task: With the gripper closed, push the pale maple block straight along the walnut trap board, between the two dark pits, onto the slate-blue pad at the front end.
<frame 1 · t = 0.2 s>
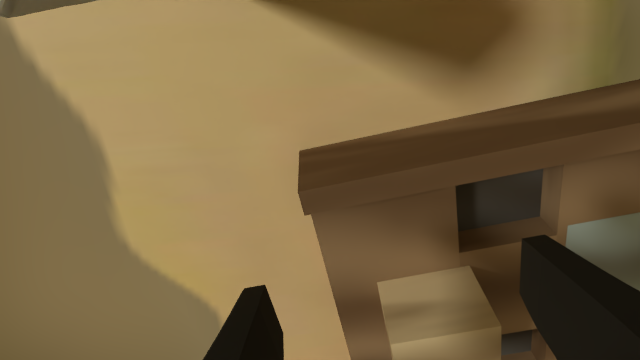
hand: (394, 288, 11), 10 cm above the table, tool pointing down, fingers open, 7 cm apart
maple block: (426, 306, 23), point 2 cm above the table, touching trap board
trap board: (500, 266, 24), on the table
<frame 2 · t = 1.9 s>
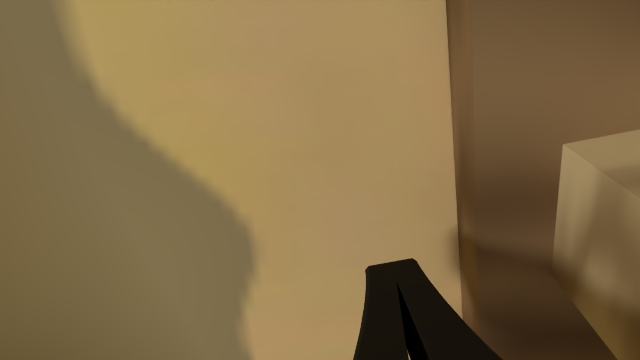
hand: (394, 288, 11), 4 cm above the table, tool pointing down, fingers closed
maple block: (638, 200, 12), point 2 cm above the table, touching trap board
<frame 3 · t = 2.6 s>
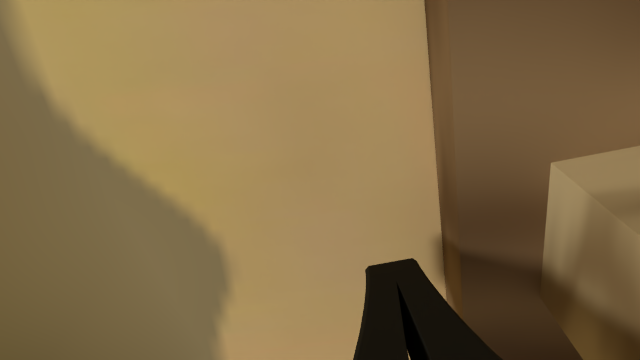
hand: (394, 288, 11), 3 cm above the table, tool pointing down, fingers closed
maple block: (632, 221, 12), point 2 cm above the table, touching trap board
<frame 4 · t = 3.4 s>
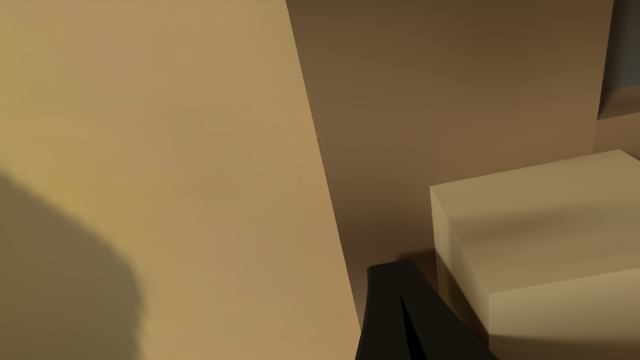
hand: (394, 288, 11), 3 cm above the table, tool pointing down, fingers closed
maple block: (519, 240, 12), point 2 cm above the table, touching gripper, trap board
trap board: (637, 178, 13), on the table
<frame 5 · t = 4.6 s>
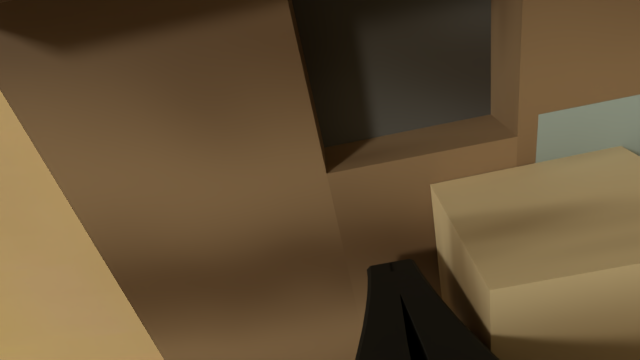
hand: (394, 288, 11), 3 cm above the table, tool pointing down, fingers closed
maple block: (521, 239, 12), point 2 cm above the table, touching gripper, trap board
trap board: (428, 217, 14), on the table
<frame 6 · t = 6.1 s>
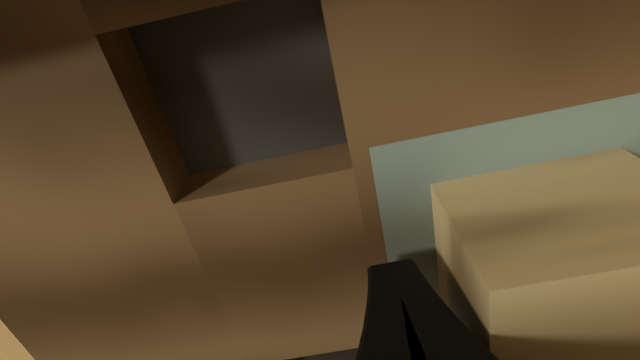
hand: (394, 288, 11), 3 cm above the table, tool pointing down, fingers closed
maple block: (520, 239, 12), point 2 cm above the table, touching gripper, trap board
trap board: (308, 239, 14), on the table
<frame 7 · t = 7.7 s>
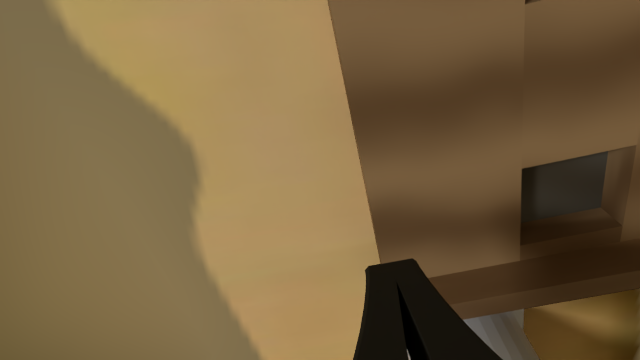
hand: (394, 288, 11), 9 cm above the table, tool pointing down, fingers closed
trap board: (570, 66, 18), on the table
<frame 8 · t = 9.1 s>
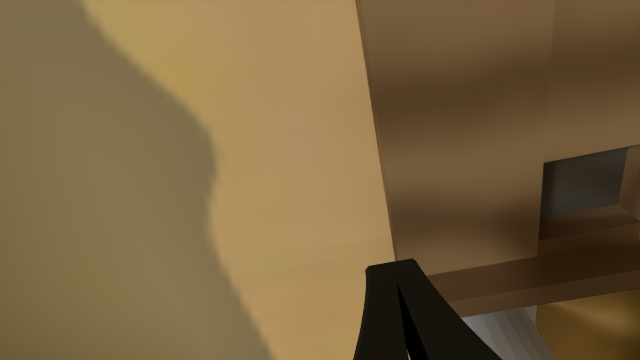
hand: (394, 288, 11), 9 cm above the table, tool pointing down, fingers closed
trap board: (593, 60, 18), on the table
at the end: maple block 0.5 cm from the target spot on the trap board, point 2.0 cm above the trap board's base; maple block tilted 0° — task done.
